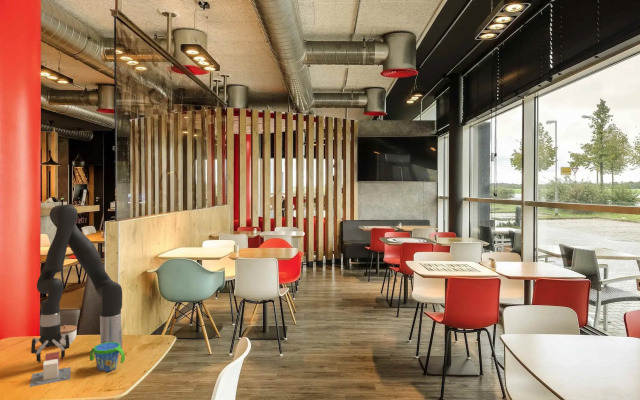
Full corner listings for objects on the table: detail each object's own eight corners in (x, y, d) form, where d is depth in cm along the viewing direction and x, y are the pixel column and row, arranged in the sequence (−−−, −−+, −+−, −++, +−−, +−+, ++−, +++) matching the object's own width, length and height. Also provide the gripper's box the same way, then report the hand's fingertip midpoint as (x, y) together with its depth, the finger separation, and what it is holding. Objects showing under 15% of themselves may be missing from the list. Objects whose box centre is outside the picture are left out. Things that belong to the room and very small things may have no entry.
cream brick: (58, 372, 188) (57, 358, 188) (57, 377, 184) (57, 362, 183) (44, 375, 186) (43, 361, 185) (43, 380, 181) (43, 365, 181)
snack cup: (131, 366, 196) (130, 343, 196) (113, 376, 186) (112, 352, 186) (102, 362, 201) (101, 340, 201) (83, 372, 191) (82, 348, 191)
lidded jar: (59, 349, 219) (59, 330, 218) (48, 344, 225) (48, 326, 224) (81, 342, 228) (80, 324, 227) (70, 338, 234) (69, 320, 233)
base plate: (70, 369, 194) (70, 366, 194) (70, 381, 182) (70, 378, 182) (32, 376, 188) (32, 373, 188) (29, 389, 175) (29, 386, 175)
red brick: (59, 364, 200) (59, 351, 199) (59, 368, 195) (58, 355, 195) (46, 367, 197) (46, 353, 197) (45, 371, 193) (45, 357, 193)
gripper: (69, 319, 202) (69, 354, 203) (32, 323, 196) (32, 360, 196) (68, 323, 196) (69, 360, 196) (30, 328, 189) (30, 366, 189)
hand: (50, 360), depth 196 cm, fingers open, 8 cm apart
